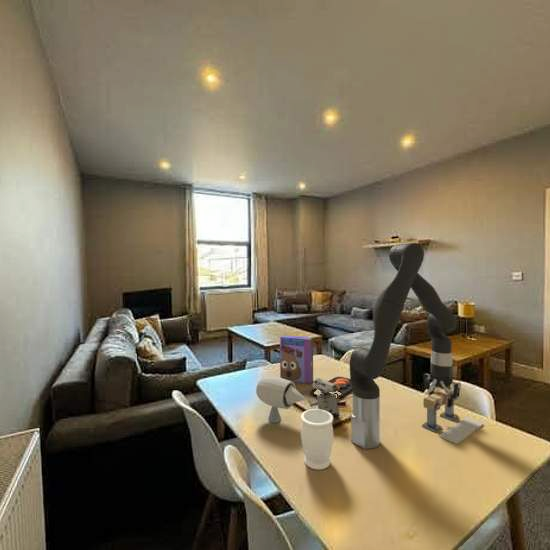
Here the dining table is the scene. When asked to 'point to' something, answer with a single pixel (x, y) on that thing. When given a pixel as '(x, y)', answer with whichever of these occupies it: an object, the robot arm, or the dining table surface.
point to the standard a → (432, 420)
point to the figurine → (326, 396)
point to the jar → (317, 437)
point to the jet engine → (277, 395)
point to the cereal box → (296, 359)
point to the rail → (436, 399)
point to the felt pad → (461, 430)
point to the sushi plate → (340, 385)
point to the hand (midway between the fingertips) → (440, 403)
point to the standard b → (449, 412)
